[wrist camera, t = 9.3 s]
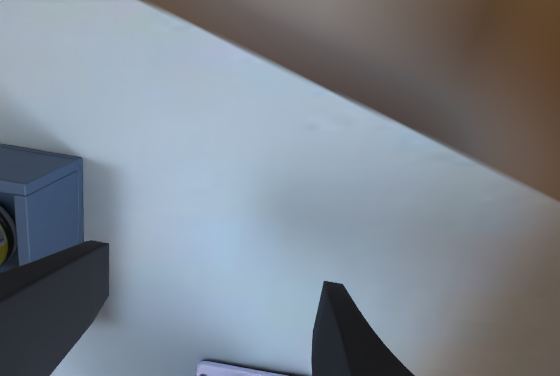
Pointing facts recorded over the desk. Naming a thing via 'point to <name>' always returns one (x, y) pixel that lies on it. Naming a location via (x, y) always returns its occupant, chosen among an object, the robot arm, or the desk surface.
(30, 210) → the desk bin
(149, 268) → the desk surface
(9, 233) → the supplement bottle
